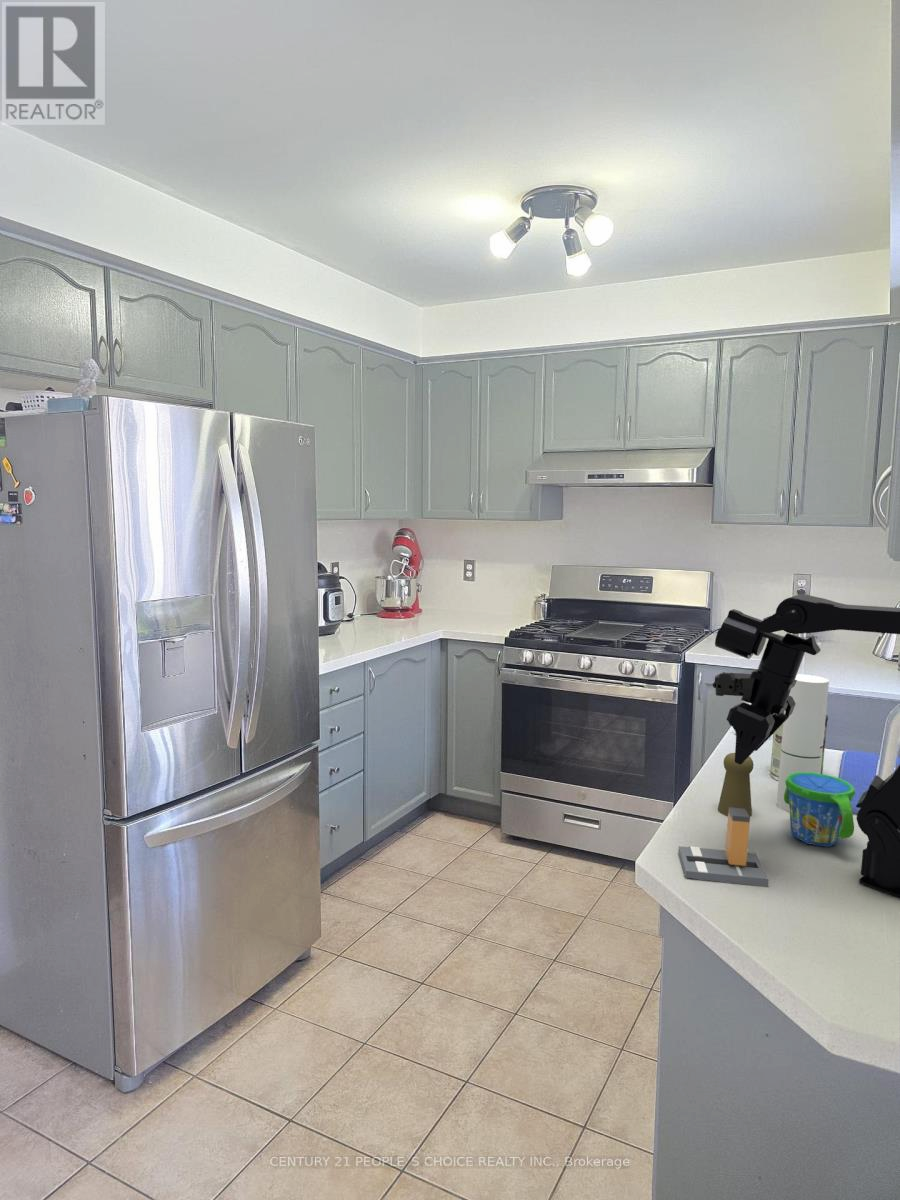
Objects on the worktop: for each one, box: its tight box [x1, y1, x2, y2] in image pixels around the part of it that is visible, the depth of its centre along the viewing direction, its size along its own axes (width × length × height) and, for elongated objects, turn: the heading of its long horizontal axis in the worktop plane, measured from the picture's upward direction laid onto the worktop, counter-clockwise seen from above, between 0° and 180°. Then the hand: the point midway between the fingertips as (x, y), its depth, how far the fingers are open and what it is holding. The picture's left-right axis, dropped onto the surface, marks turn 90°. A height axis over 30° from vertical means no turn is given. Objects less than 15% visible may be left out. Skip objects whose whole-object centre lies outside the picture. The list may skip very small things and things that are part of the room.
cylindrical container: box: [776, 673, 830, 813], centre depth 151 cm, size 7×7×25 cm
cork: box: [717, 752, 755, 817], centre depth 149 cm, size 6×6×11 cm
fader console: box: [677, 845, 770, 887], centre depth 125 cm, size 12×9×1 cm
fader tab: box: [724, 807, 751, 866], centre depth 125 cm, size 2×4×9 cm
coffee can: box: [769, 711, 829, 781], centre depth 168 cm, size 10×10×14 cm
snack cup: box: [784, 772, 856, 847], centre depth 138 cm, size 16×10×10 cm
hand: (745, 756), depth 133 cm, fingers open, 9 cm apart
